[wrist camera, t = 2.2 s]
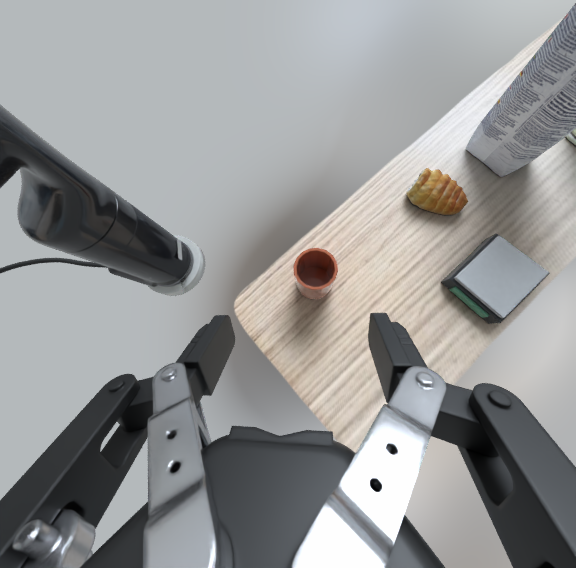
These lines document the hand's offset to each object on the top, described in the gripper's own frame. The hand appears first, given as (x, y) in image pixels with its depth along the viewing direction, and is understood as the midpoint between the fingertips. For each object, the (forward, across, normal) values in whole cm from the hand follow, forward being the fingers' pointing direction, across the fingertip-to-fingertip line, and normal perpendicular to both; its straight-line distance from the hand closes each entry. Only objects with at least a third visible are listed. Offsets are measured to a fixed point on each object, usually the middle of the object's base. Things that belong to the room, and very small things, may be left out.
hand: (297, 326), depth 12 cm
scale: (+25, -28, +11) cm, 39 cm away
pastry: (+35, -22, -1) cm, 41 cm away
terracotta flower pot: (+24, 0, +10) cm, 26 cm away
